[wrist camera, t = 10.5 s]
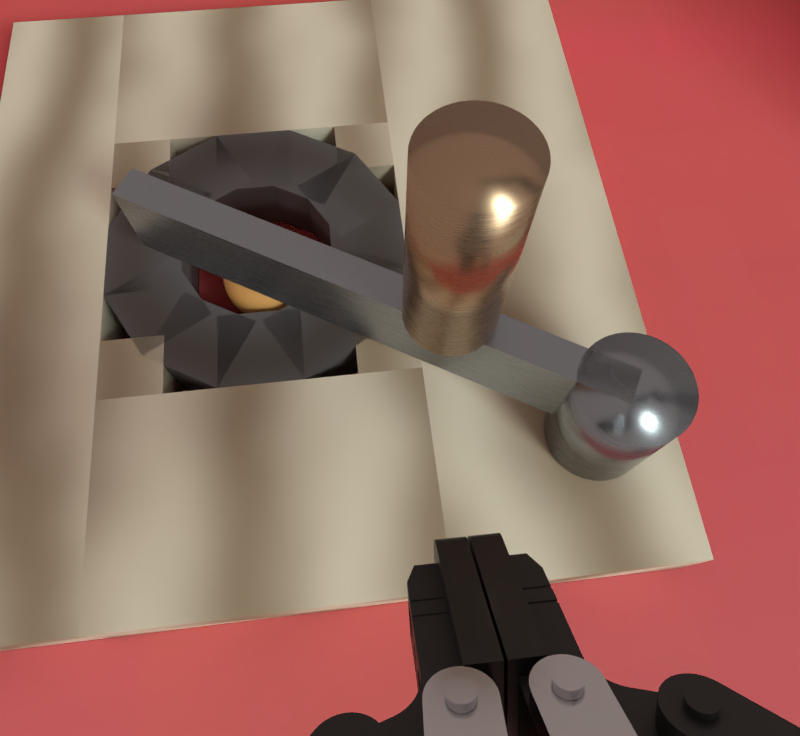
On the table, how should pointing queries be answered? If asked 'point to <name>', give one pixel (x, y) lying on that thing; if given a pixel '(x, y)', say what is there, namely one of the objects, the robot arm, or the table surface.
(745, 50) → the table surface
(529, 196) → the catapult lever
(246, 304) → the ball
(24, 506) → the board
